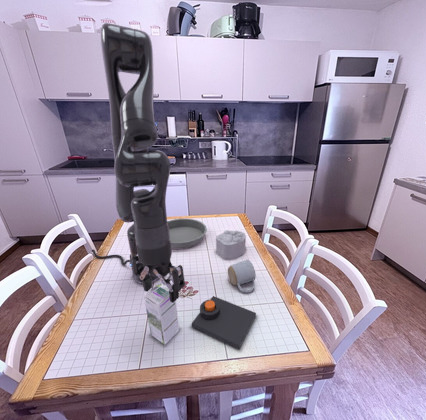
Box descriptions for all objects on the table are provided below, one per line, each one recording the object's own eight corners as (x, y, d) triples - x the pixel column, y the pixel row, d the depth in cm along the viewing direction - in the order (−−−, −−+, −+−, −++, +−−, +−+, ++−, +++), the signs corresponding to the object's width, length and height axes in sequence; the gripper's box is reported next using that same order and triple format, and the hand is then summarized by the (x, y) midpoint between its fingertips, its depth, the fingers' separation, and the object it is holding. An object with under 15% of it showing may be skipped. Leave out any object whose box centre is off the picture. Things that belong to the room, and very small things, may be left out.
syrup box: (180, 330, 67) (176, 290, 61) (164, 346, 62) (158, 304, 56) (165, 321, 69) (160, 281, 64) (149, 336, 65) (142, 295, 59)
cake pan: (183, 257, 99) (182, 248, 97) (144, 241, 111) (142, 232, 109) (216, 234, 118) (216, 226, 116) (180, 221, 130) (179, 214, 128)
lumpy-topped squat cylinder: (213, 250, 104) (213, 233, 101) (236, 241, 112) (236, 225, 108) (227, 261, 97) (227, 243, 94) (250, 251, 104) (251, 234, 101)
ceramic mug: (226, 278, 87) (226, 261, 84) (245, 272, 91) (246, 255, 88) (239, 297, 79) (240, 279, 76) (260, 289, 82) (262, 272, 79)
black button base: (190, 326, 68) (189, 317, 66) (212, 299, 78) (211, 291, 76) (239, 350, 61) (239, 340, 60) (255, 316, 71) (256, 308, 70)
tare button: (203, 309, 70) (202, 305, 69) (208, 302, 72) (208, 298, 71) (211, 313, 68) (211, 309, 68) (216, 306, 71) (216, 302, 70)
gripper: (188, 239, 54) (192, 294, 60) (142, 226, 60) (150, 277, 66) (166, 255, 48) (173, 315, 54) (117, 239, 54) (129, 295, 60)
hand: (160, 294), depth 60 cm, fingers open, 8 cm apart
